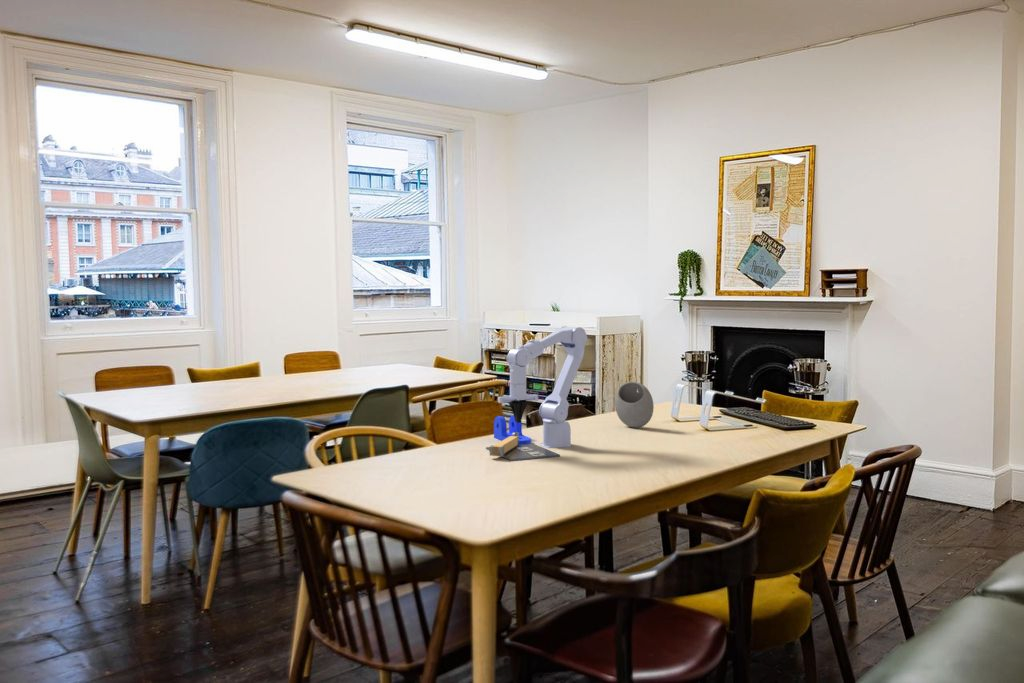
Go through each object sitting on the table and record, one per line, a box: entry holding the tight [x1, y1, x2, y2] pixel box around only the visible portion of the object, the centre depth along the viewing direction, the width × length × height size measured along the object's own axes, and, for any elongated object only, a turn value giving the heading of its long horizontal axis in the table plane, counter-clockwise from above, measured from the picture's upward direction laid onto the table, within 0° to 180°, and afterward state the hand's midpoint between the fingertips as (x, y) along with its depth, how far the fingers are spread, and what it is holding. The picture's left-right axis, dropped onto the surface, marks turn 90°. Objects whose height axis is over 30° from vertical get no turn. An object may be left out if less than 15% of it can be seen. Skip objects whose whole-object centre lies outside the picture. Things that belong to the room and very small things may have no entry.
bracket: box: [493, 414, 532, 444], centre depth 306 cm, size 18×8×9 cm, turn 25°
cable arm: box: [489, 436, 518, 457], centre depth 283 cm, size 20×4×3 cm, turn 163°
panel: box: [485, 432, 561, 462], centre depth 284 cm, size 18×22×6 cm
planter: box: [614, 381, 654, 429], centre depth 335 cm, size 18×7×19 cm, turn 46°
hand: (518, 422), depth 288 cm, fingers closed
